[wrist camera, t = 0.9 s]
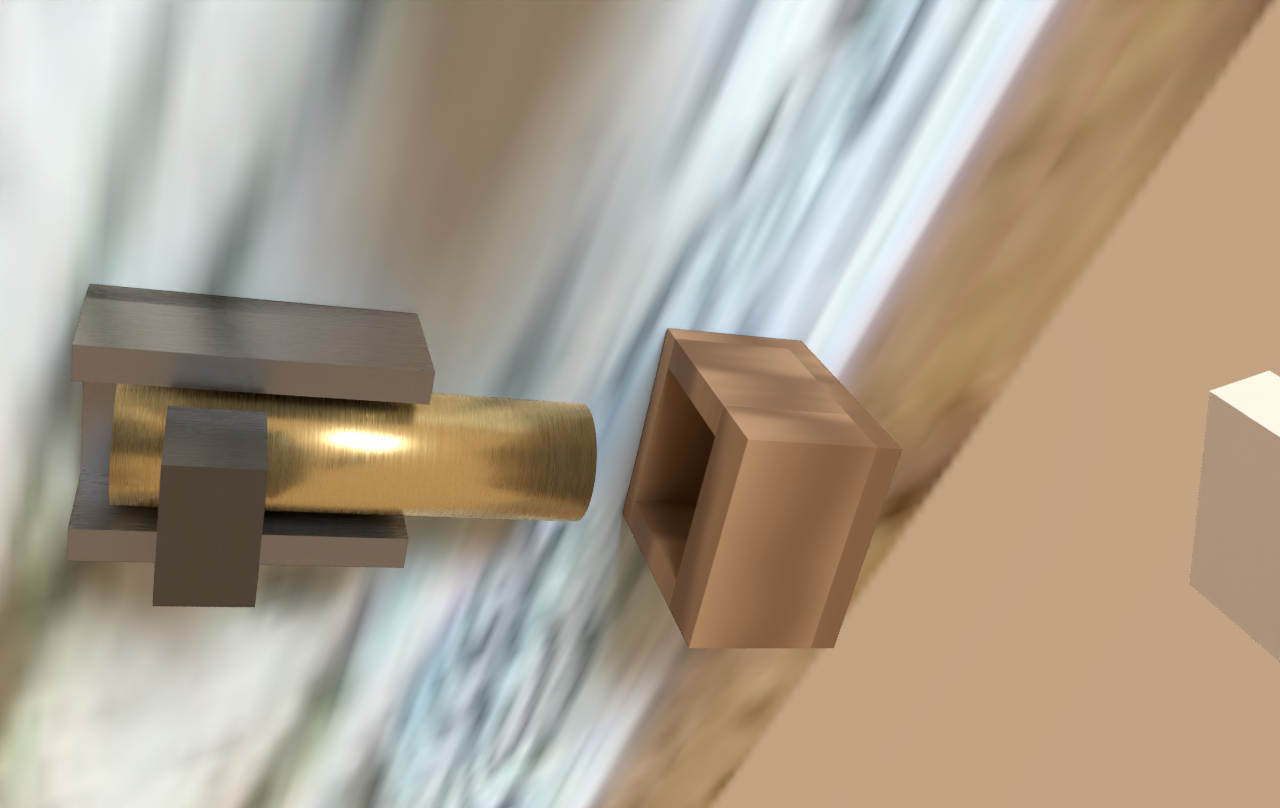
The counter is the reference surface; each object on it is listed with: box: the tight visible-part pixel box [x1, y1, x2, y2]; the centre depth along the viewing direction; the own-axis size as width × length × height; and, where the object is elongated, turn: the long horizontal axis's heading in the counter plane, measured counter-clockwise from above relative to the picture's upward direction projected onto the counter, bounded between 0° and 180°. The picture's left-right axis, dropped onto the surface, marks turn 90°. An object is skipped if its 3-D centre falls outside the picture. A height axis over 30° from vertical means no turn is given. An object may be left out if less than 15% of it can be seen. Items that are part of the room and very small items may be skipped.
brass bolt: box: [109, 384, 597, 607], centre depth 34 cm, size 13×4×7 cm, turn 77°
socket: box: [623, 328, 902, 648], centre depth 38 cm, size 5×7×7 cm
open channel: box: [67, 284, 435, 568], centre depth 35 cm, size 9×6×4 cm
